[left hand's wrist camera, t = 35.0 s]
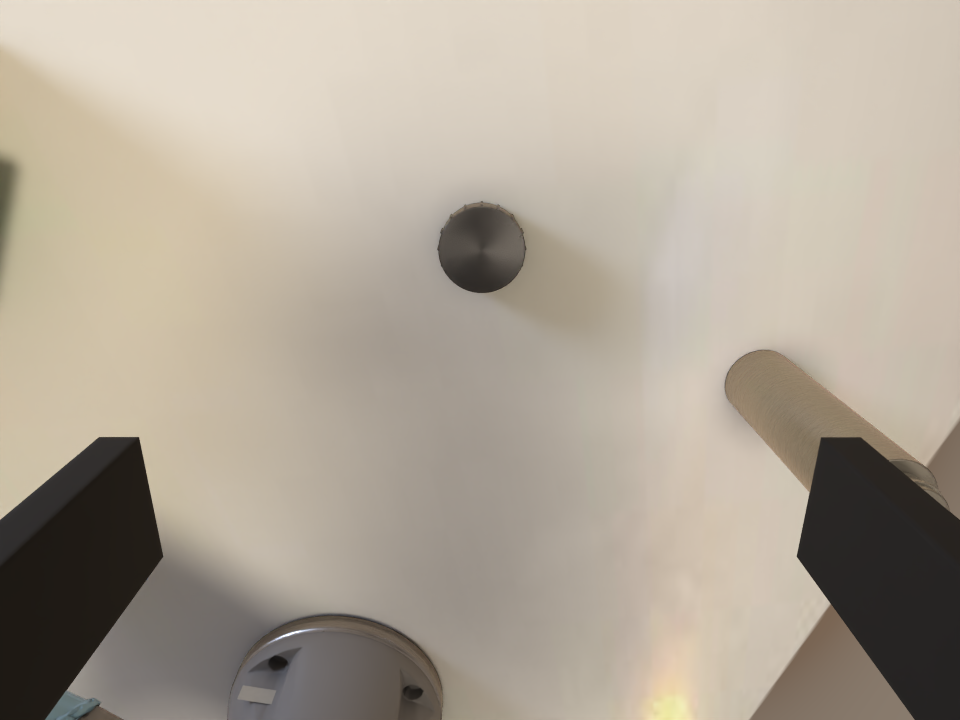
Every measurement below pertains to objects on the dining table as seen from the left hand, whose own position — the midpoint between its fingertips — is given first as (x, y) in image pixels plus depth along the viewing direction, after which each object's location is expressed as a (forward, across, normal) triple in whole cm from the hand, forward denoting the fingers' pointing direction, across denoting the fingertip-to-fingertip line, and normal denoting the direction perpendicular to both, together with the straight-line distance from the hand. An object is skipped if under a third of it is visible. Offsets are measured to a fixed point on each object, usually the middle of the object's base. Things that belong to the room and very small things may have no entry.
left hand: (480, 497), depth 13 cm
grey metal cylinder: (+26, +17, -8) cm, 32 cm away
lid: (+24, 0, 0) cm, 24 cm away
